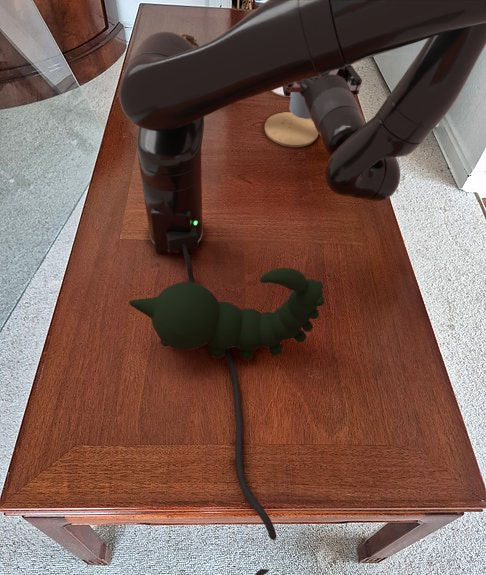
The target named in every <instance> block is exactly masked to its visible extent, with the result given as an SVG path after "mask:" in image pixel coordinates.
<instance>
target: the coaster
mask: <svg viewBox="0 0 486 575" xmlns="http://www.w3.org/2000/svg"><path fill="white" fill-rule="evenodd" d="M264 132H265V134H266V136H267V137H268V139H270V140H271V141H272V142H273V143H276V144H278V145H281V146H284V147H288V148H302V147H307V146H309V145H311V144H313V143H314V142H315V141H316V140H317V139H318V138H319V135H320V134H319V133H318V131H317V130H316V128H315V126H314V123H313V121H312V119H304V118H299V117H297V116H295V115H293V114H292V113H291V112H290V111H286V112H284V111H283V112H278V113H275V114H272V115H271V116H269V117H268V118H267V120H266V121H265V123H264Z"/></svg>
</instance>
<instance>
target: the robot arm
mask: <svg viewBox="0 0 486 575" xmlns="http://www.w3.org/2000/svg"><path fill="white" fill-rule="evenodd" d="M424 40H426V41H425V43H424V44H423V46H422V48H421V49H420V51H419V52H418V54H416V56H415V58H414V60H413V61H412V62H411V64H410V65H409V67H408V69H406V71H405V72H404V74H403V75H402V77H401V79H399V81H398V82H397V83H396V85H395V87H394V88H393V89H392V91H391V92H390V93H389V95H388V97H386V99H385V100H384V102H383V104H382V105H381V106H380V108H379V109H378V111H377V112H376V114H374V116H373V117H371V119H369V120H368V121H367V122H366V121H365V118H364V116H363V115H362V112H361V109H360V107H359V106H360V105H359V104H358V101H357V100H356V98H355V95H356V96H357V95H359V93H360V90H361V87H362V82H363V79H362V77H361V76H360V75H359V74H358V72H357V71H356V69H355V68H354V66H352V65H354V64H356V63H359V62H361V61H364V60H366V59H367V60H368V59H370V58H372V57H375V56H378V55H382V54H384V53H388V52H391V51H394V50H398V49H400V48H403V47H406V46H410V45H413V44H416V43H419V42H422V41H424ZM485 48H486V0H266V1H265V2H263V3H262V4H261V5H259V6H258V7H257V8H255V9H254V10H252V11H251V12H250V13H249V14H247V15H245V17H243V18H242V19H241V20H240V21H238V22H237V23H236V24H234V25H233V26H232V27H231V28H229V29H228V30H226V31H225V32H224V33H222V34H220V35H219V36H218V37H216V38H214V39H212V40H211V41H209V42H207V43H204V44H202V45H199V47H197V48H194V47H193V45H192V44H191V43H190V42H189V41H187V40H186V39H185V38H183V37H182V36H180V35H179V34H178V33H175V32H173V31H172V32H171V31H158V32H154V33H152V34H150V35H148V36H146V37H145V38H144V39H143V40H142V41H141V42H140V43H139V45H138V46H137V48H136V50H135V52H134V53H133V55H132V57H131V59H130V60H129V62H128V64H127V66H126V67H125V69H124V71H123V74H122V77H121V80H120V84H119V91H118V97H119V104H120V107H121V109H122V111H123V113H124V115H125V116H126V117H127V118H128V119H129V120H130V121H131V122H132V123H133V124H135V125H136V126H138V130H137V136H136V151H137V158H138V165H139V170H140V172H139V173H140V179H141V184H142V192H143V199H144V204H145V205H144V206H145V212H146V218H147V225H148V234H149V240H150V242H151V244H152V245H153V246H154V249H155V253H156V254H167V255H168V254H169V255H183V258H184V262H185V266H186V271H187V279H188V282H192V283H196V281H195V276H194V272H193V266H192V261H191V256H190V255H192V254H193V251H194V249H196V248H199V245H200V244H201V243H202V240H203V238H204V227H203V190H202V189H203V188H202V186H203V182H202V172H203V171H202V147H203V146H202V144H203V139H204V131H205V117H206V116H208V115H210V114H212V113H213V114H214V113H215V112H218V111H220V110H221V109H224V108H226V107H229V106H230V105H234V104H236V103H238V102H241V101H243V100H247V99H249V98H252V97H256V96H259V95H262V94H265V93H268V92H272V90H274V89H277V88H280V87H283V91H284V95H285V96H291V92H299V93H300V94H301V95H302V96H303V97H304V98H305V102H306V106H307V108H308V111H309V113H310V116H311V119H312V121H313V123H314V126H315V128H316V130H317V131H318V133H319V134H318V135H319V136H320V138H321V141H322V143H323V145H324V149H325V150H326V152H327V154H328V155H329V157H330V158H329V159H328V162H327V165H326V168H325V182H326V185H327V187H328V188H329V190H330V191H331V192H332V193H334V194H336V195H339V196H341V197H348V198H354V199H359V200H365V201H371V202H381V201H385V200H387V199H389V198H390V197H392V196H393V195H394V194H395V192H396V191H397V189H398V188H399V185H400V181H401V168H400V164H399V161H398V159H397V158H399V157H400V158H401V157H402V158H403V157H407V156H409V155H411V154H413V153H414V152H415V151H416V150H417V149H418V148H419V146H421V145H422V144H423V142H424V141H425V140H426V139H427V138H428V136H429V135H430V134H431V133H432V132H433V131H434V130H435V129H436V127H437V126H438V125H439V124H440V122H442V120H443V119H444V117H445V116H446V115H447V114H448V113H449V111H450V110H451V108H452V107H453V106H454V104H455V102H456V101H457V99H458V98H459V96H460V94H461V93H462V90H463V88H464V87H465V85H466V83H467V81H468V79H469V77H470V75H471V74H472V71H473V69H474V68H475V66H476V64H477V62H478V60H479V58H480V56H481V54H482V53H483V51H484V49H485ZM328 72H329V73H328ZM285 96H284V97H285ZM229 349H230V348H228V349H226V353H225V354H224V357H225V359H226V362H227V365H228V369H229V371H230V376H231V381H232V390H233V403H234V415H235V447H234V448H235V452H234V456H235V457H234V458H235V470H236V475H237V480H238V483H239V486H240V489H241V492H242V494H243V495H244V496H245V499H246V500H247V501H248V503H249V505H250V506H251V508H252V509H253V510H254V511H255V513H256V514H257V515H258V516H259V518H260V519H261V521H262V524H264V527H265V529H266V531H267V534H268V537H269V539H270V540H272V541H275V540H276V539H277V532H276V529H275V526H274V524H273V522H272V520H271V518H270V516H269V515H268V514H267V512H266V511H265V509H264V508H263V506H262V505H261V504H260V503H259V501H258V500H257V499H256V497H255V495H254V494H253V493H252V491H251V489H250V487H249V484H248V483H247V482H248V481H247V480H246V476H245V472H244V464H243V427H244V426H243V414H242V413H243V412H242V401H241V388H240V381H239V376H238V372H237V367H236V364H235V361H234V358H233V356H232V353H231V351H230V350H229ZM269 571H270V569H269V568H260V569H258V571H256V573H255V574H254V575H267V574H268V573H269Z"/></svg>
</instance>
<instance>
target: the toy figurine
mask: <svg viewBox="0 0 486 575" xmlns="http://www.w3.org/2000/svg"><path fill="white" fill-rule="evenodd" d="M259 282H260V283H262V284H267V283H271V284H276V285H279V286H282V287H285V288H286V289H288V290H290V291H292V292H291V293H290V294H289V296H288V299H287V300H286V301H284V302H283V303H282V304H281V306H280V307H278V308H276V309H275V310H274V311H273V312H272V311H265V312H261V311H259V310H257V309H254V308H249V307H248V308H241V309H240V308H239V307H238V306H237V305H235V304H233V303H231V302H227V301H218V299H217V298H216V296H215V295H214V293H213V292H212V291H211V290H210V289H209V288H207V287H206V286H204V285H203V284H202V285H201V284H199V283H196V282H195V283H192V282H189V281H182V282H177V283H174V284H171V285H169V286H167V287H166V288H164V289H163V290H162V291H161V292H159V294H158V295H157V296H155V297H147V298H146V297H145V298H138V299H131V300H129V302H128V304H129V305H130V306H131V307H132V308H134V309H135V310H138V311H139V312H141V313H142V314H144V315H146V316H147V317H149V318H150V320H151V324H152V326H153V329H154V331H155V333H156V335H157V336H158V338H159V339H160V343H161V345H162V346H163V347H171V348H173V349H177V350H183V351H188V350H189V351H190V350H196V349H198V348H201V347H203V346H205V345H207V346H208V353H209V355H210V357H212V358H214V359H220V358H223V357H225V355H224V354H225V353H226V349H231V348H233V347H234V348H236V349H237V350H239V356H240V357H241V359H243V360H245V361H248V360H251V359H252V358H253V356H254V355H255V350H258V349H260V348H261V347H263V348H268V351H269V354H270V355H271V356H275V357H276V356H279V355H281V354H282V352H283V346H282V342H283V341H288V340H291V339H294V340H295V341H296V342H297V344H298V343H304V342H305V341H306V339H307V334H306V333H309V332H311V331H312V330H313V328H314V326H313V323H312V322H311V320H316V319H318V317H320V315H319V314H320V313H319V309H318V307H322V306H324V305H325V302H326V301H325V298H324V297H323V296H324V294H323V292H324V290H323V289H324V284H323V282H322V281H321V280H314V279H311V278H309V279H307V277H306V276H305V274H304V272H301V271H300V270H298V269H295V268H289V267H278V268H275V269H271V270H269V271H267V272H265V273H264V274H262V275H261V276H260V278H259Z"/></svg>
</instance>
